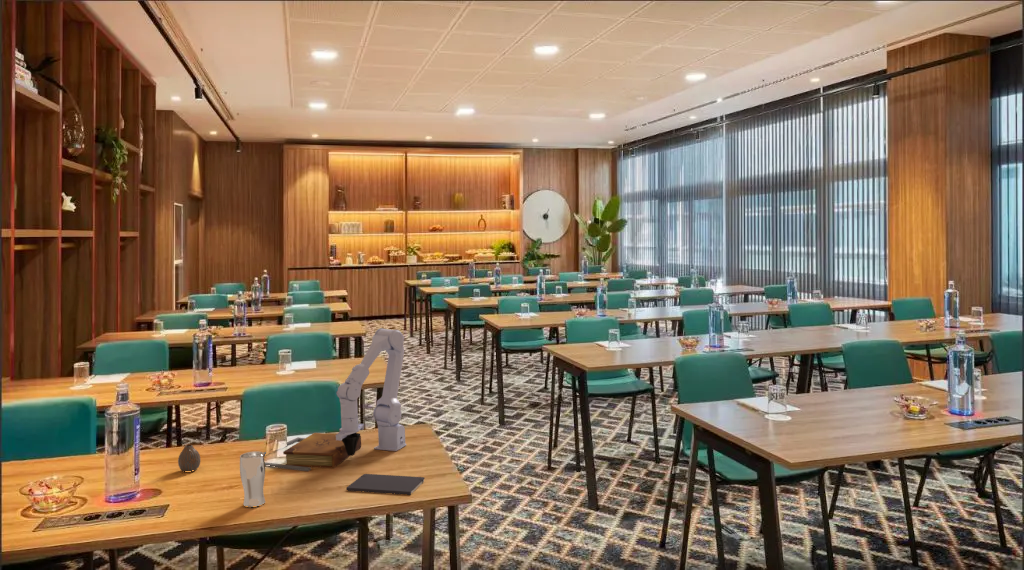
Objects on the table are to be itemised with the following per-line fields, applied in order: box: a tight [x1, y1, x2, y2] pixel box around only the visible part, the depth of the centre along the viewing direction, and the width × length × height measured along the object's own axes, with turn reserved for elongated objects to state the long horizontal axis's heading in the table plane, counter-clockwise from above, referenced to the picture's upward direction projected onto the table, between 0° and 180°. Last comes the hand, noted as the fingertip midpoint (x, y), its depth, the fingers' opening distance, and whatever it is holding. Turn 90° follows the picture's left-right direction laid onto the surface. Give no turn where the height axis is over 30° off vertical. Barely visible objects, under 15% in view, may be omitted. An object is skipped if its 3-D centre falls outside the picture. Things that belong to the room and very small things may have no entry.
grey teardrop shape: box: [177, 444, 201, 472], centre depth 236 cm, size 7×7×9 cm
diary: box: [282, 432, 362, 469], centre depth 248 cm, size 23×19×6 cm
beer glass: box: [239, 450, 266, 507], centre depth 204 cm, size 7×7×15 cm
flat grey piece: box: [263, 437, 312, 472], centre depth 251 cm, size 27×30×1 cm
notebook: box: [345, 473, 425, 496], centre depth 217 cm, size 13×2×21 cm
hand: (351, 454), depth 244 cm, fingers closed
